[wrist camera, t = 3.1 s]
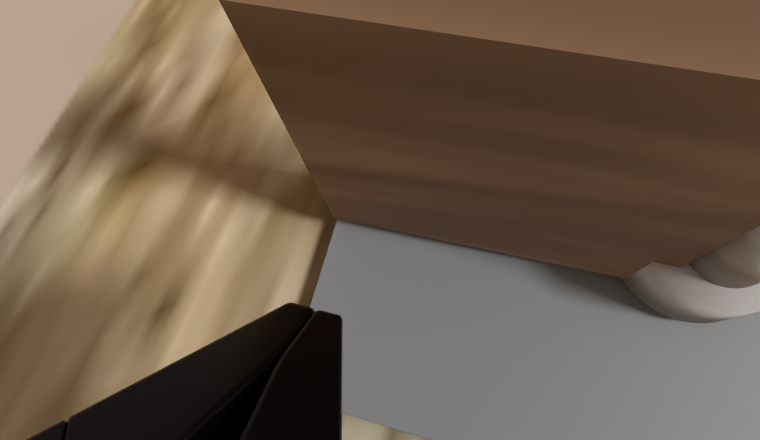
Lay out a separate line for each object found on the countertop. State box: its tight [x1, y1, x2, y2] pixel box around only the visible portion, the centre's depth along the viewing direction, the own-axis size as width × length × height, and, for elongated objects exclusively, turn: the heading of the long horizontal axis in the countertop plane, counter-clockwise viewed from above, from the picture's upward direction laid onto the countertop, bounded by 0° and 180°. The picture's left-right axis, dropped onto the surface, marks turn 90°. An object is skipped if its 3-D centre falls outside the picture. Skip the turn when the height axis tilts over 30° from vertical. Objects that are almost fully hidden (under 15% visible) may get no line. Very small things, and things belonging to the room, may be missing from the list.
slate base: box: [310, 219, 760, 440], centre depth 15 cm, size 14×12×1 cm
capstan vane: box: [219, 0, 760, 323], centre depth 11 cm, size 4×12×9 cm, turn 76°
